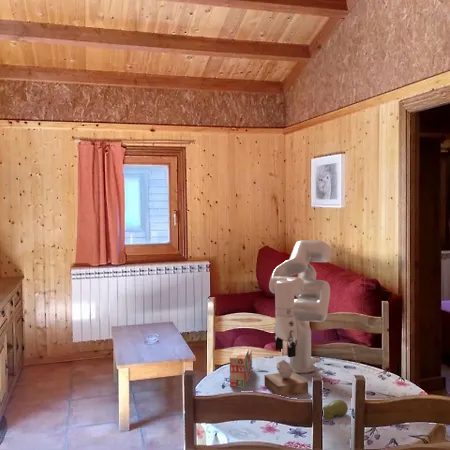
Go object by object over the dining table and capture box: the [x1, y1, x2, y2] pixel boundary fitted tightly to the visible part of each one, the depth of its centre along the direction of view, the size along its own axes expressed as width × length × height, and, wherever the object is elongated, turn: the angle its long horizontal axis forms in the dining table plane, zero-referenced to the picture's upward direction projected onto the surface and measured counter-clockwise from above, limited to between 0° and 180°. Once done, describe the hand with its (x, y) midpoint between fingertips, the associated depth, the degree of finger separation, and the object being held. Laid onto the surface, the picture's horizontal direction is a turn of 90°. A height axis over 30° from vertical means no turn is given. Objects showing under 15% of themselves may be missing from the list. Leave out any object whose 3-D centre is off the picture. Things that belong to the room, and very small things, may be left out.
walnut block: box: [264, 371, 309, 398], centre depth 193 cm, size 13×13×5 cm
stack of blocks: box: [229, 348, 253, 388], centre depth 207 cm, size 21×6×12 cm, turn 169°
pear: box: [322, 399, 349, 420], centre depth 169 cm, size 6×5×10 cm
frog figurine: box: [276, 359, 293, 379], centre depth 193 cm, size 6×7×7 cm
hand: (285, 352), depth 194 cm, fingers open, 9 cm apart
